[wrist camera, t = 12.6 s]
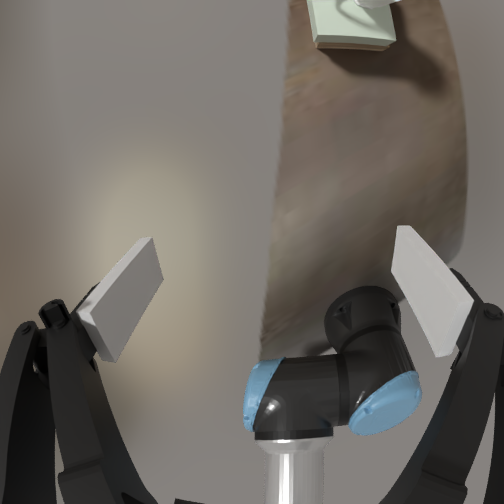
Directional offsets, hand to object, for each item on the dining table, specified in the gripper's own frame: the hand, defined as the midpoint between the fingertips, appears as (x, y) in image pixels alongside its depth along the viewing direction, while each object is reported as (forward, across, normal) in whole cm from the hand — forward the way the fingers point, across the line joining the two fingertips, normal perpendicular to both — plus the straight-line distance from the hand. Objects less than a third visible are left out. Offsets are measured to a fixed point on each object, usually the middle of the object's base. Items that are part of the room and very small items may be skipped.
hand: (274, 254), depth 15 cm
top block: (+25, -11, -24) cm, 36 cm away
